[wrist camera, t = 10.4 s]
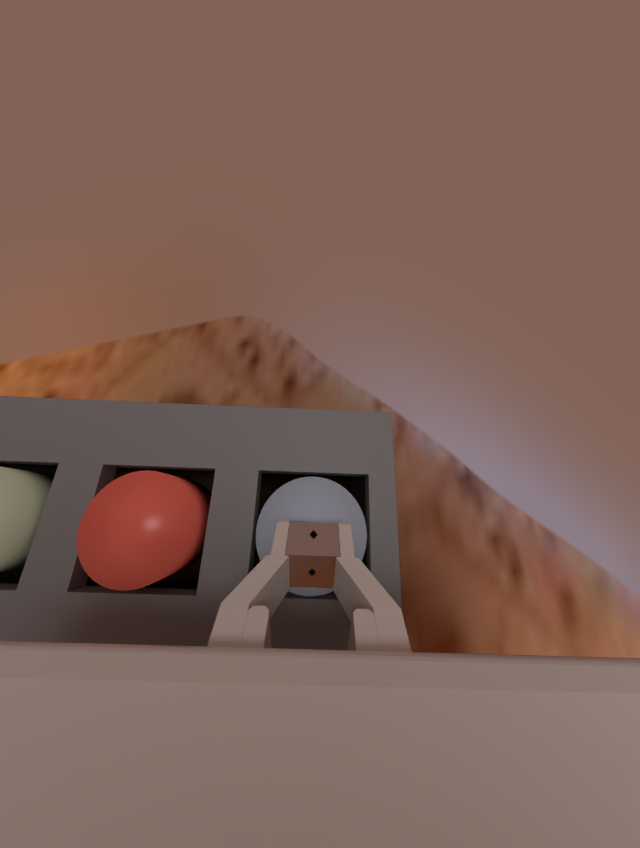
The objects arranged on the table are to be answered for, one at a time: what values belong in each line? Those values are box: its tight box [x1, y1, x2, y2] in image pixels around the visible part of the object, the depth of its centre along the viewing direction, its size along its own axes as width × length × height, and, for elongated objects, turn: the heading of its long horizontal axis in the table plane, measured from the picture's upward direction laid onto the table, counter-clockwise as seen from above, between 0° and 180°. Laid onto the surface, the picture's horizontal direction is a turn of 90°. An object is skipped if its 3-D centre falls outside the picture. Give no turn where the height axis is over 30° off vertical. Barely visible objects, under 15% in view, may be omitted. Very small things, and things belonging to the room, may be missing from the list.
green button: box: [0, 467, 55, 573], centre depth 13 cm, size 5×5×4 cm
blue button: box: [256, 477, 367, 596], centre depth 13 cm, size 5×5×4 cm
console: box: [0, 396, 402, 650], centre depth 17 cm, size 23×12×9 cm, turn 88°
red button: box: [77, 470, 212, 591], centre depth 13 cm, size 5×5×4 cm
